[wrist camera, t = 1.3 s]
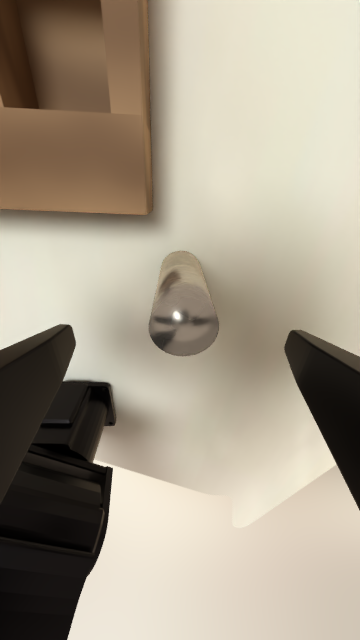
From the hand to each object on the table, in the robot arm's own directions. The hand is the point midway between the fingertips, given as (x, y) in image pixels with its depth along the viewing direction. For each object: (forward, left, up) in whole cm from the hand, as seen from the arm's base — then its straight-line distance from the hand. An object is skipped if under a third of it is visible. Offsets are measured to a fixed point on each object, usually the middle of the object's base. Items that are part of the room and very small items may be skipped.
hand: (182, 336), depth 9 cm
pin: (0, 0, -8) cm, 8 cm away
